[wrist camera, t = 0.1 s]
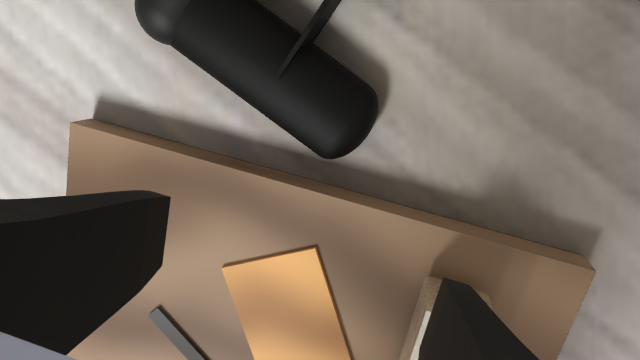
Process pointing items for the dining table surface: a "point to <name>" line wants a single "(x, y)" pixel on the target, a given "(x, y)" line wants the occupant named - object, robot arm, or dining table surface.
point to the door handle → (270, 67)
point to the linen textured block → (425, 317)
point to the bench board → (300, 262)
